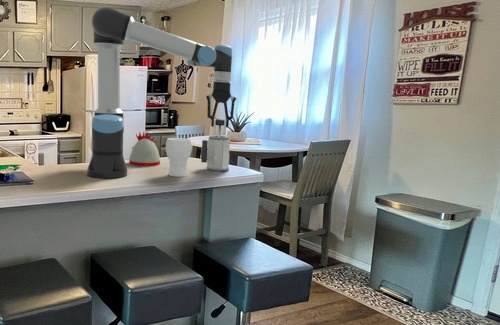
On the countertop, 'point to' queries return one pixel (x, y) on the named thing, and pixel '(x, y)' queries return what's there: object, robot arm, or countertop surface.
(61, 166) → the countertop surface
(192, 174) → the countertop surface
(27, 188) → the countertop surface
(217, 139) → the carafe
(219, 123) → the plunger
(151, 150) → the grey and red dome
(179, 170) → the cup
